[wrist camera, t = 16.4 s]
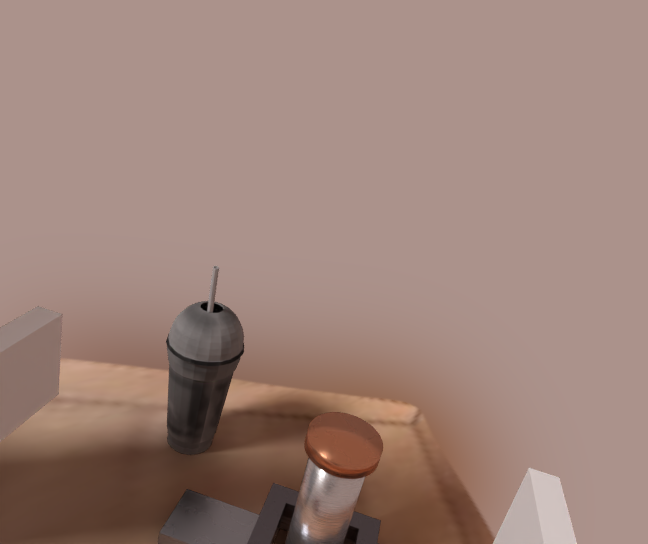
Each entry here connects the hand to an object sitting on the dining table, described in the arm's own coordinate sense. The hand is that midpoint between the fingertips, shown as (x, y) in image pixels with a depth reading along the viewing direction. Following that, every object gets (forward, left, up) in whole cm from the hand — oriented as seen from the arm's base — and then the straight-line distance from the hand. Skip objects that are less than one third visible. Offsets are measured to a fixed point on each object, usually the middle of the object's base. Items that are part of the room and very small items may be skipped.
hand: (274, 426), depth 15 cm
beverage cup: (-30, +15, -30) cm, 45 cm away
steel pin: (-12, +17, -30) cm, 37 cm away
